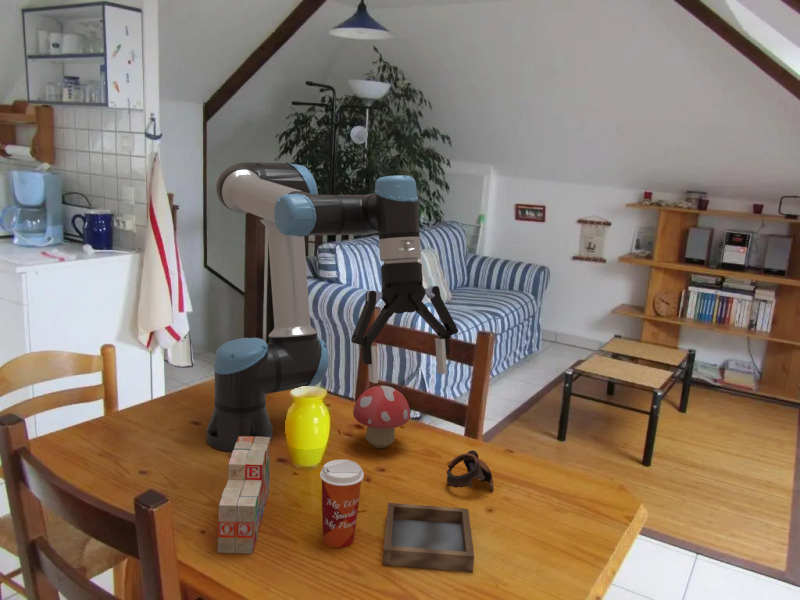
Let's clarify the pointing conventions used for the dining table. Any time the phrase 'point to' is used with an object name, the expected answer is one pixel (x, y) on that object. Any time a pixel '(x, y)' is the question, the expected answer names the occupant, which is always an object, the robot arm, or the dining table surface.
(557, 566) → the dining table surface
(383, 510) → the dining table surface
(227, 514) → the stack of blocks
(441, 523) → the tray
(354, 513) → the paper cup
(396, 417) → the decorative mushroom
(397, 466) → the dining table surface
